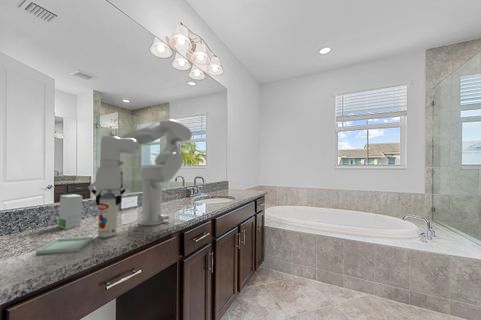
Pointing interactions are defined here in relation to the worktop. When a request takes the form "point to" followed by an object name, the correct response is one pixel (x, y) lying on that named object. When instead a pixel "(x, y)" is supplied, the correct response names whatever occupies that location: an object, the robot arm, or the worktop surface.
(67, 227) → the skincare box
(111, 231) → the aerosol can
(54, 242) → the tray
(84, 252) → the worktop surface
